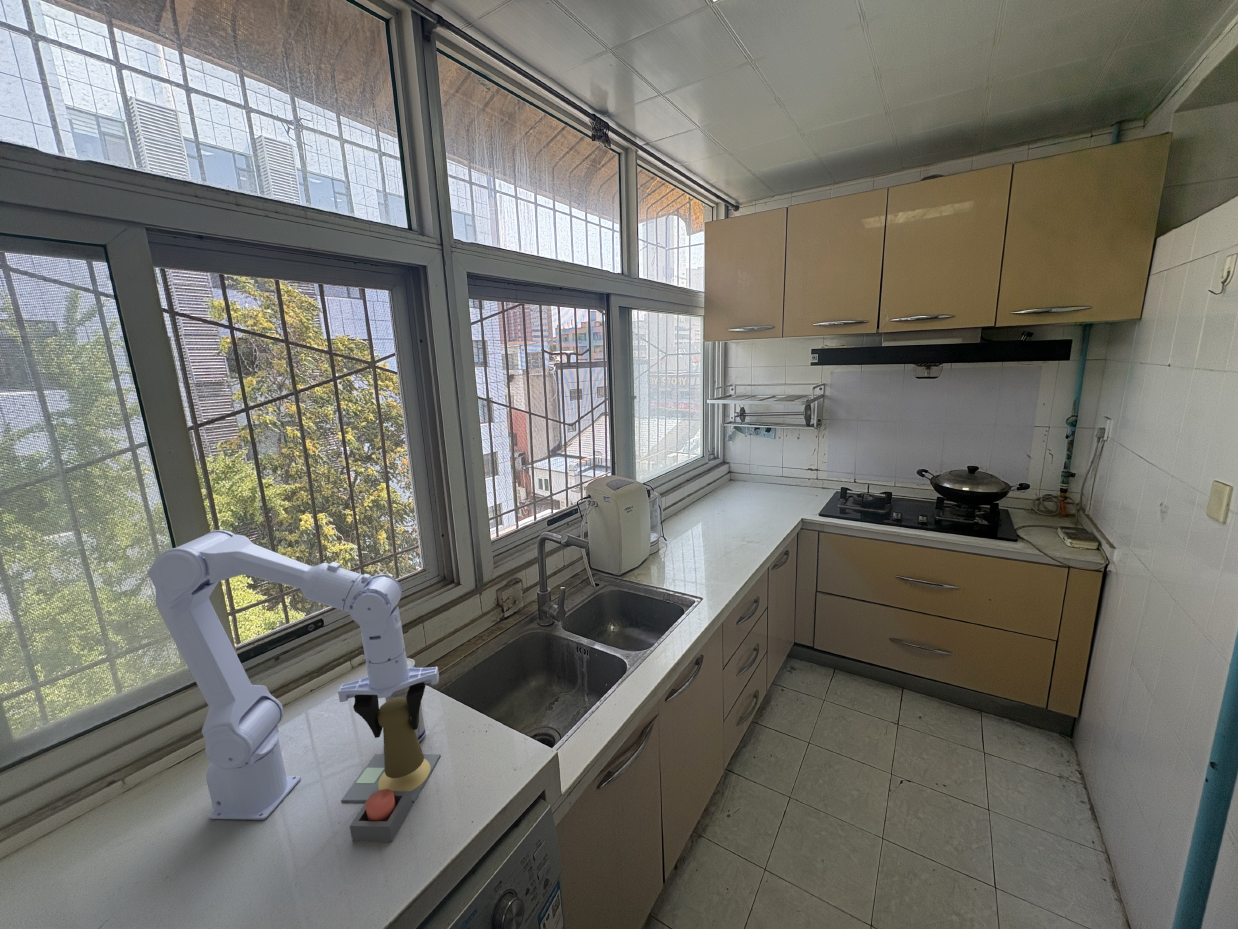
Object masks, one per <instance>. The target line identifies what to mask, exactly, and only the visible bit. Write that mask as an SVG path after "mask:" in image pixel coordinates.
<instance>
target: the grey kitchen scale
mask: <svg viewBox="0 0 1238 929" xmlns="http://www.w3.org/2000/svg"><path fill="white" fill-rule="evenodd" d="M423 755H424V761H423V762H422V764H421V766H420V767H418V768H417V769H416V770H415V771H413V772H412V773H410V774H408V775H406V776H404V777H400V778H390V777H387V776H386V775H385V764H384V753H381V754H380V753H377V754H374V755H373V756H372V758H371V759H370V760H369V762H368V763H367V764H366V765H365V767H364V768H363V769H362V771H361V773H360V774H359V775H358V777H357V778H356V779H355V781H354V782H353V783H352V785H351V786H350V787H349V789H348V790H347V791H346V793H345V794H344V796H343V797H342V798H341V801H340V802H341V803H366V801H367V800H368V798H369V797H370V795H371V794H372V792H373V791H380V790H383V789H389V790H392V791H410V792H411V798H412V804H414V803H416V801H417V798H418V797H419V796H420V794H421V792H422V790H423V789H424V787H425V784H426V783H427V781H428V779H429V778H430V776H431V775H432V772H433V770H434V768H435V767H436V766H437V764H438V762H439V759H440V758H441V754H439V753H438V754H435V753H434V754H429V753H428V754H425V753H423Z"/></svg>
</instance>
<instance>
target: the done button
mask: <svg viewBox="0 0 1238 929" xmlns="http://www.w3.org/2000/svg"><path fill="white" fill-rule="evenodd" d="M365 803H366V805H365V806H366V812H367V818H368V821H388V819H389V818H390V816H391V814H392V813H393V811H394V809H395V808H396V805H395V799H394V793H393V791H392V790H389V789H383V790H380V791H378V792H376V793H374V794H373V795H371V796H370V797H369V798H368V800H367V802H365Z"/></svg>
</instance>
